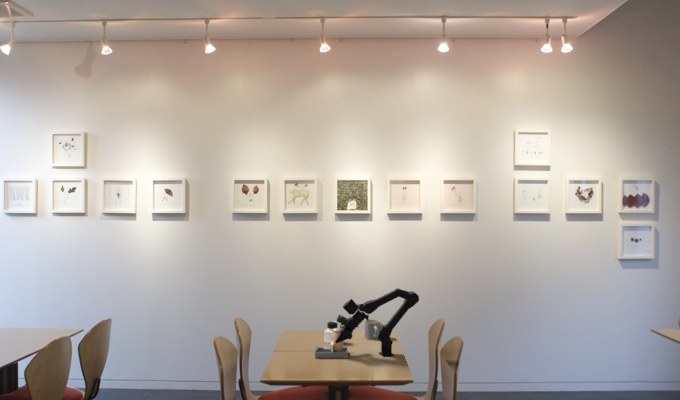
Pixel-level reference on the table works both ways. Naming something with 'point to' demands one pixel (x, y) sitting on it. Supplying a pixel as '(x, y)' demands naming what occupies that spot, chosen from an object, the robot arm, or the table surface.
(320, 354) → the tray
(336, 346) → the dome-lidded peach canister
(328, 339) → the medicine bottle
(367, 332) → the coffee mug
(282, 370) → the table surface
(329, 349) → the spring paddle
